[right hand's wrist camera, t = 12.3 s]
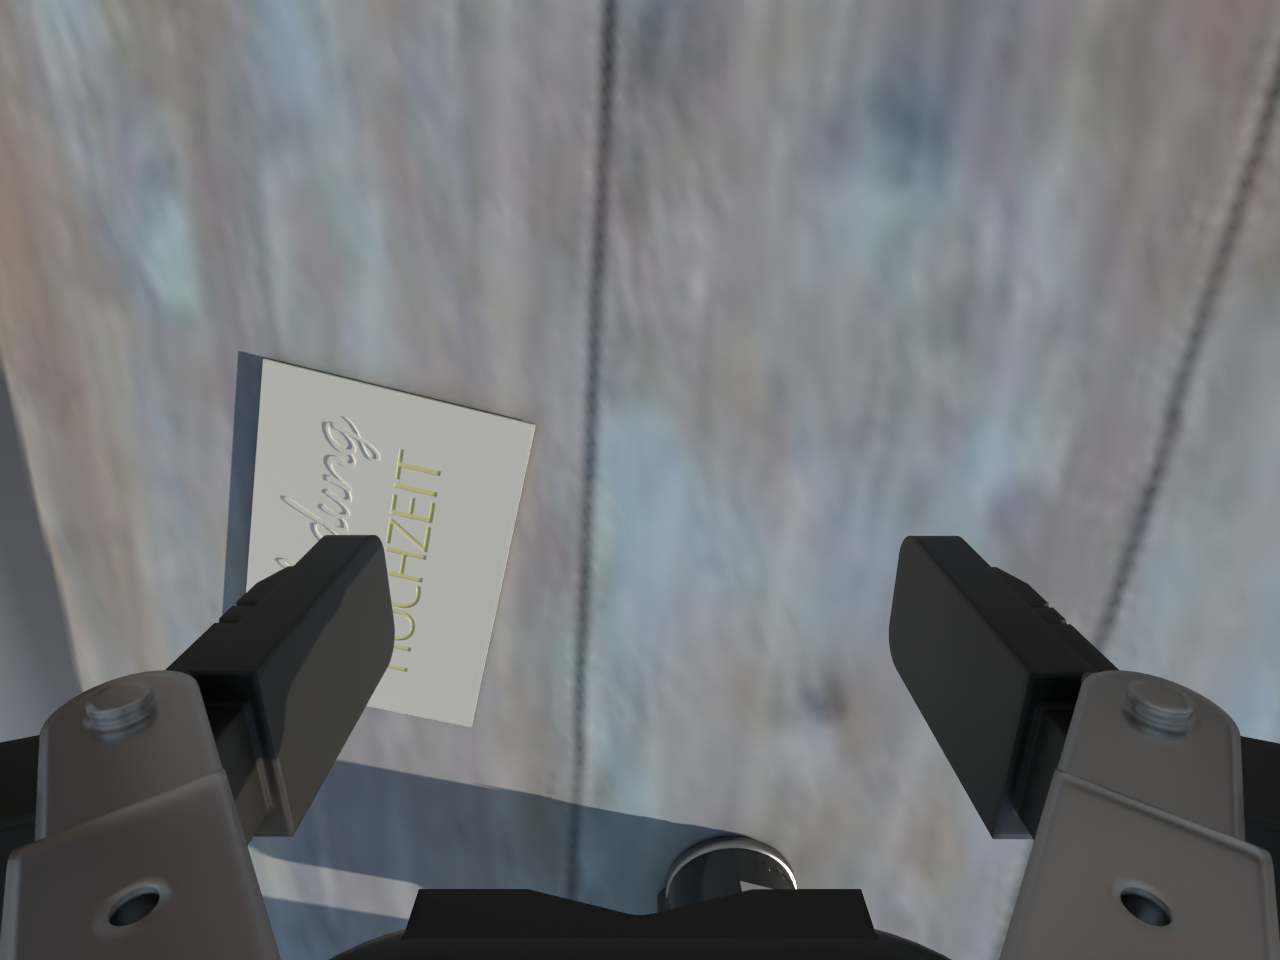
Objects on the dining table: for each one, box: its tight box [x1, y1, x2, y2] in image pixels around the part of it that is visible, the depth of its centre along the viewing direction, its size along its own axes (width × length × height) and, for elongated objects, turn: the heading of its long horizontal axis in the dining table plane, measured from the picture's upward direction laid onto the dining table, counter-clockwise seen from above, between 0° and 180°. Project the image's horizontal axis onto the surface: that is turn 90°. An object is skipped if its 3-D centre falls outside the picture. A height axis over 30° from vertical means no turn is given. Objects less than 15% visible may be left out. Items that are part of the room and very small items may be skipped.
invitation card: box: [246, 358, 536, 727], centre depth 43 cm, size 21×1×15 cm
